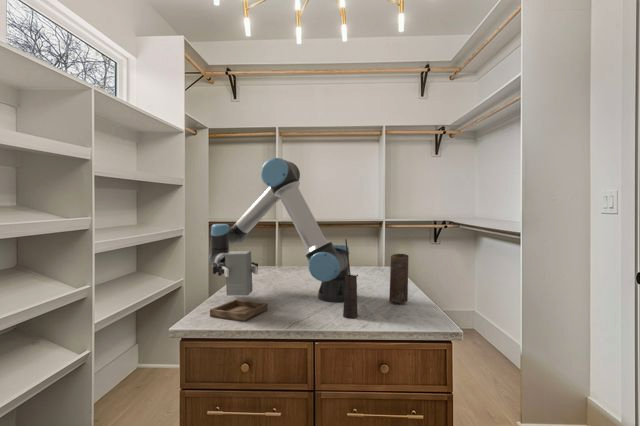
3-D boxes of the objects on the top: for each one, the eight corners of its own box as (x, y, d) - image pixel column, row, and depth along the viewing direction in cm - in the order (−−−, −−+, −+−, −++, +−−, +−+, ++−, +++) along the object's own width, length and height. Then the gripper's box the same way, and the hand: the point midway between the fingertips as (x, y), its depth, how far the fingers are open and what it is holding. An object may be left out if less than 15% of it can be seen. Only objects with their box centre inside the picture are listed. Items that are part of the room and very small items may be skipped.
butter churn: (369, 314, 129) (369, 238, 128) (361, 321, 120) (361, 240, 119) (345, 311, 132) (345, 237, 132) (336, 318, 124) (336, 239, 123)
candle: (411, 303, 144) (411, 254, 143) (402, 306, 138) (402, 256, 138) (395, 299, 149) (395, 252, 149) (385, 303, 144) (386, 254, 143)
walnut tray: (267, 310, 134) (267, 303, 134) (244, 321, 120) (244, 314, 120) (235, 305, 140) (235, 299, 139) (209, 316, 126) (209, 309, 126)
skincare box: (252, 292, 133) (253, 250, 133) (247, 296, 126) (247, 253, 125) (231, 291, 134) (231, 250, 133) (224, 296, 127) (224, 252, 126)
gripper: (252, 269, 151) (271, 279, 132) (197, 274, 139) (210, 285, 120) (252, 252, 151) (271, 259, 131) (197, 255, 139) (210, 263, 120)
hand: (242, 271), depth 126 cm, fingers closed on skincare box, 10 cm apart
